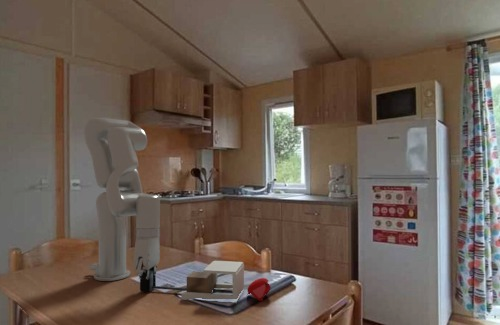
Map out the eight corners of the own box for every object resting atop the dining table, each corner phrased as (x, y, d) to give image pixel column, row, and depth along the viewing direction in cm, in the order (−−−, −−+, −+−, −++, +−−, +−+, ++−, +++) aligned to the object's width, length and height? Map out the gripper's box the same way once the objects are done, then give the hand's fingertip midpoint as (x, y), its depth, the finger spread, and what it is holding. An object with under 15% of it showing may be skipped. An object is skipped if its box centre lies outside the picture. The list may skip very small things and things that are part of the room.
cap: (275, 284, 111) (260, 273, 113) (272, 284, 105) (256, 271, 107) (260, 306, 109) (245, 294, 112) (257, 307, 104) (241, 294, 106)
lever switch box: (181, 299, 107) (181, 268, 107) (193, 287, 118) (193, 259, 118) (236, 303, 104) (236, 271, 104) (244, 290, 115) (243, 262, 115)
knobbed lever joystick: (138, 293, 112) (138, 274, 112) (147, 286, 118) (147, 268, 118) (208, 297, 108) (208, 278, 108) (213, 291, 114) (213, 272, 114)
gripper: (149, 228, 124) (148, 280, 124) (124, 237, 108) (124, 297, 108) (169, 228, 123) (168, 281, 122) (147, 237, 107) (146, 298, 106)
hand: (147, 288), depth 115 cm, fingers closed on knobbed lever joystick, 3 cm apart
